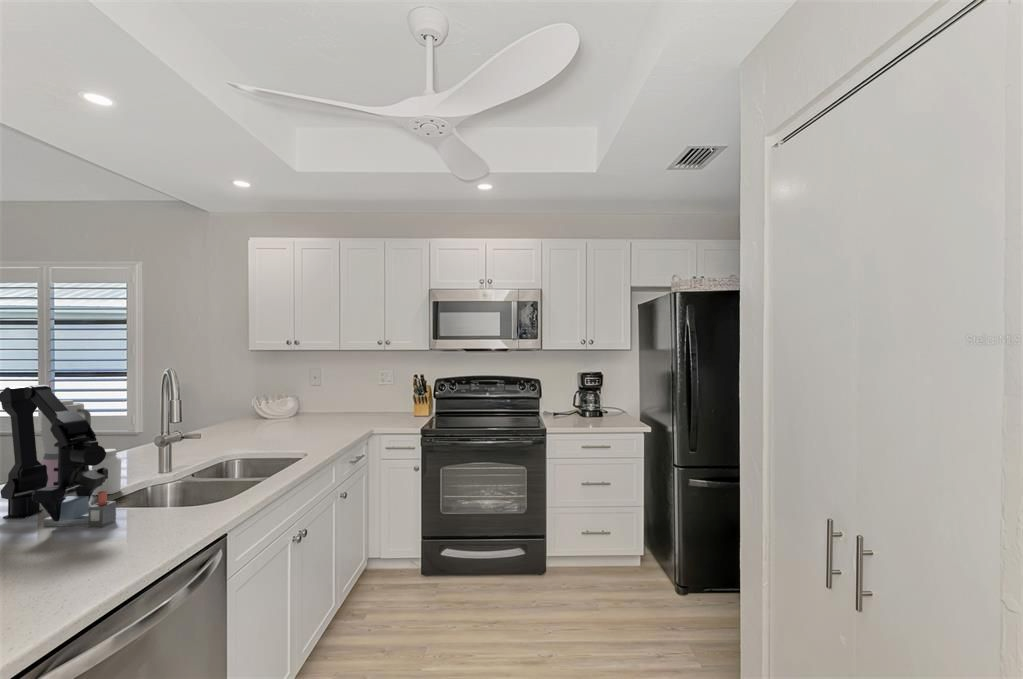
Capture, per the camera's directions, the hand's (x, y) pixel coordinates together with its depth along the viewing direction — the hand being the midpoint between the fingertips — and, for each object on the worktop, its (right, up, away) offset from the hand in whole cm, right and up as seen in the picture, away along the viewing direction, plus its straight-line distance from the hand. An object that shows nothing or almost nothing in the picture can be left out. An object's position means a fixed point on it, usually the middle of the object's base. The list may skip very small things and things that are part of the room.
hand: (70, 515), depth 144 cm
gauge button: (+9, +2, 0) cm, 9 cm away
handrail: (0, -3, 0) cm, 3 cm away
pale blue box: (0, 0, 0) cm, 0 cm away
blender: (-28, -2, +30) cm, 42 cm away
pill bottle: (-13, -3, +29) cm, 32 cm away
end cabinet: (+9, -3, 0) cm, 9 cm away
